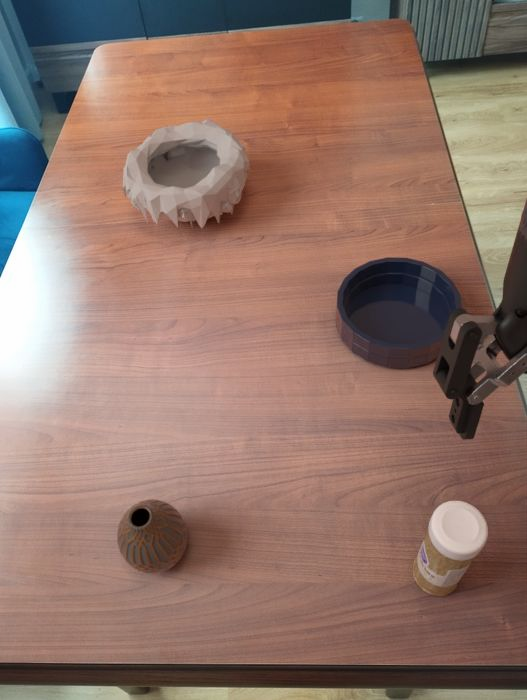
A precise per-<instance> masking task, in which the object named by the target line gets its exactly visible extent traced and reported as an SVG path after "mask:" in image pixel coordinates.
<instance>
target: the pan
mask: <svg viewBox="0 0 527 700" xmlns="http://www.w3.org/2000/svg"><path fill="white" fill-rule="evenodd" d="M336 293H337V294H336V318H335V319H336V320H335V323H336V329H337V332H338V334H339V336H340V339H341V340H342V342H343V343H344V344H345V345H346V346H347V347H348V349H349V350H350V351H351V352H353V353H354V355H357V356H358V357H359V358H362V359H363V360H365V361H366V362H369V363H372V364H374V365H378V366H382V367H385V368H393V369H409V368H414V367H418V366H423V365H427V364H428V363H430V362H432V361H434V360H437V357H438V354H439V351H440V347H441V344H442V341H443V337H444V334H445V331H446V327H447V324H448V321H449V317H450V314H451V313H452V312H453V311H454V310H455V309H458V308H463V302H462V295H461V293H460V291H459V290H458V288H457V286H456V284H455V282H454V281H453V280H452V279H451V278H450V277H449V276H447V274H446V273H444V271H442V269H440V268H438V267H435V266H433V265H431V264H429V263H427V262H425V261H423V260H417V259H414V258H409V257H394V256H393V257H389V256H388V257H383V258H379V259H373V260H369V261H367V262H365V263H363V264H361V265H359V266H357V267H355V268H354V269H353V270H351V272H349V273H348V274H347V275H346V276H345V277H344V278H343V279H342V282H341V284H340V286H339V288H338V290H337V292H336Z"/></svg>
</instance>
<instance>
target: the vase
mask: <svg viewBox="0 0 527 700" xmlns="http://www.w3.org/2000/svg"><path fill="white" fill-rule="evenodd" d="M116 533H117V534H116V540H117V541H116V542H117V546H118V550H119V553H120V554H121V556H122V558H123V560H124V561H125V562H126V563H127V564H128V565H129V566H130V567H132V568H133V569H134V570H137V571H138V572H140V573H145V574H160V573H164V572H166V571H169V570H170V569H171V568H173V567H175V566H176V565H177V563H178V562H179V561H180V560H181V558H182V557H183V555H184V553H185V551H186V549H187V544H188V537H189V536H188V534H189V533H188V529H187V524H186V521H185V519H184V518H183V516H182V514H181V513H180V511H179V510H178V508H175V506H173V505H172V504H170V503H168V502H167V501H164V500H160V499H154V498H153V499H144V500H141V501H138V502H137V503H134V504H133V505H131V506H130V508H128V509H127V510H126V511H125V512H124V513H123V515H122V517H121V519H120V521H119V523H118V527H117V531H116Z"/></svg>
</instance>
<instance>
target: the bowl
mask: <svg viewBox="0 0 527 700" xmlns="http://www.w3.org/2000/svg"><path fill="white" fill-rule="evenodd" d="M246 152H247V151H246V147H245V146H244V144H242V142H241V141H240V140H239V139H238V138H237V137H236V136H235V135H234V133H233V132H232V131H231V129H227V128H224V127H222V126H221V125H220V124H218V123H217V122H215V121H213V120H212V119H210V118H205V119H204V120H202V121H189V122H185V123H181V124H180V125H168V126H163V127H160V128H157V129H155V130H154V131H153V133H151V134H150V135H148V136H147V137H146V138H145V140H143V141H142V143H140V145H138V146H137V147H136V148H134V149H132V150H130V151H129V152H128V153H127V155H126V160H125V165H124V167H122V170H123V171H122V173H123V174H122V191H123V193H124V197H125V198H128V199H129V201H130V202H131V205H132V207H133V208H134V209H137V211H138V213H139V214H140V213H141V214H142V216H143V218H144V220H145V222H146V224H147V225H148V217H147V212H148V213H149V214H150V216H151V219H152V221H153V222H154V223H156V224H158V223H159V220H160V219H161V220H162V221H171V222H172V223H173V224H174V225H175V227H176V228H179V222H185V223H187V222H189V223H190V226H191V228H194V226H193V222H195V221H196V223H197V224H198V226H199V227H200V228H201V229H204V227H205V225H206V223H207V221H208V219H211V218H213V217H214V218H215V219H216V221H217V223H218V224H220V219H221V216H224V215H223V213H230V214H231V215H232V216H233V213H234V206H235V205H238V204H239V202H240V201H241V199H242V193H243V190H244V188H245V186H246V182H247V179H248V174H249V173H248V172H249V171H250V165H251V164H250V159H249V157H248V154H247V153H246ZM146 211H147V212H146Z"/></svg>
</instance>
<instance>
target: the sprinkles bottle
mask: <svg viewBox="0 0 527 700" xmlns="http://www.w3.org/2000/svg"><path fill="white" fill-rule="evenodd" d="M488 537H489V527H488V523H487V520H486V518H485V517H484V515H483V514H482V512H481V511H480V510H479V509H477V507H475V506H474V505H473V504H470V503H468V502H466V501H462V500H449V501H445V502H443V503H441V504H440V505H439V506H437V507H436V508H435V509H434V511H433V513H432V514H431V517H430V519H429V522H428V528H427V533H426V536H425V537H424V538H423V541H422V543H421V545H420V548H419V549H418V553H417V555H416V557H415V559H414V561H413V563H412V576H413V580H414V582H415V583H416V585H417V586H418V587H419V589H421V590H422V591H423V592H424V593H426V594H428V595H431V596H434V597H445V596H447V595H449V594H451V593H452V592H454V591H455V590H456V588H457V586H458V583H459V582H460V580H461V579H462V578H463V576H464V575H465V573H466V571H467V570H468V568H469V567H470V565H471V564H472V562H473V561H474V559H475V557H476V556H478V555H479V554H480V552H481V551H482V550H483V549H484V546H485V545H486V543H487V541H488Z"/></svg>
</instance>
